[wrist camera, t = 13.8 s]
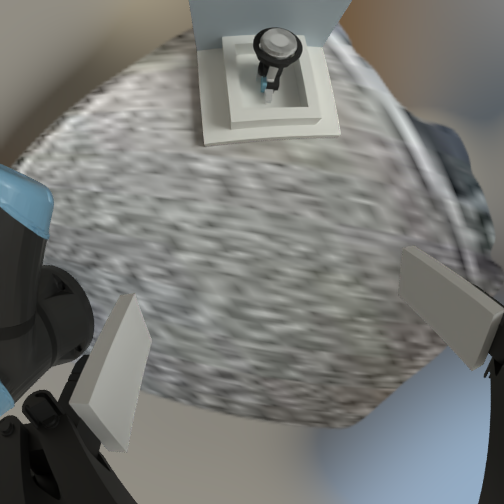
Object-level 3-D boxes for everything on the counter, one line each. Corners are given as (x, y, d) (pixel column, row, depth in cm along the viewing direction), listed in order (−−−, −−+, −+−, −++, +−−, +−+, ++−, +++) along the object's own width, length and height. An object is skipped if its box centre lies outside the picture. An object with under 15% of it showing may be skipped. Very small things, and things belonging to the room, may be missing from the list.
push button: (286, 106, 34) (306, 73, 24) (246, 103, 34) (252, 67, 24) (286, 65, 33) (303, 26, 24) (247, 62, 33) (254, 20, 23)
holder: (205, 146, 36) (180, 68, 14) (197, 48, 33) (181, -60, 12) (337, 137, 37) (431, 77, 16) (317, 44, 35) (373, -47, 13)
